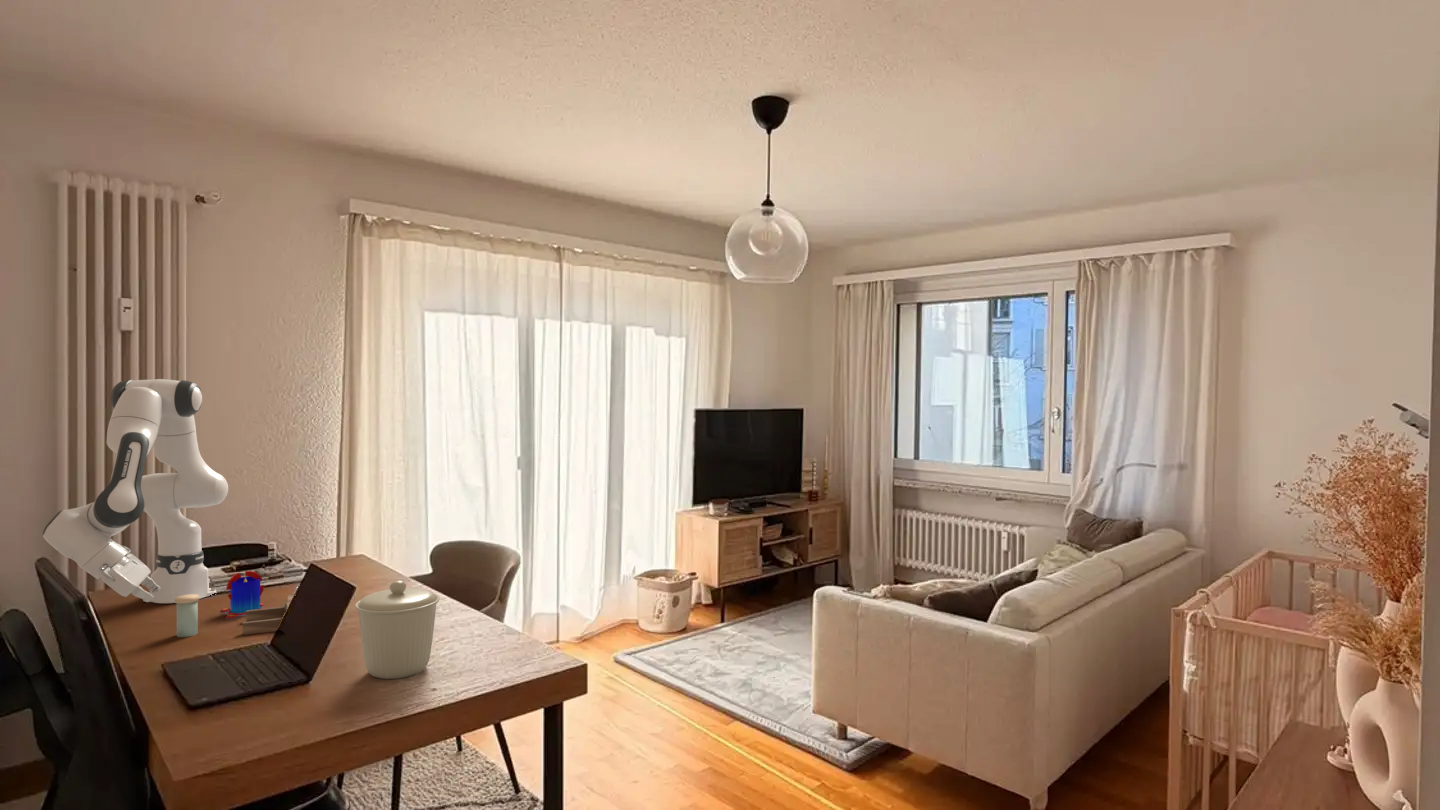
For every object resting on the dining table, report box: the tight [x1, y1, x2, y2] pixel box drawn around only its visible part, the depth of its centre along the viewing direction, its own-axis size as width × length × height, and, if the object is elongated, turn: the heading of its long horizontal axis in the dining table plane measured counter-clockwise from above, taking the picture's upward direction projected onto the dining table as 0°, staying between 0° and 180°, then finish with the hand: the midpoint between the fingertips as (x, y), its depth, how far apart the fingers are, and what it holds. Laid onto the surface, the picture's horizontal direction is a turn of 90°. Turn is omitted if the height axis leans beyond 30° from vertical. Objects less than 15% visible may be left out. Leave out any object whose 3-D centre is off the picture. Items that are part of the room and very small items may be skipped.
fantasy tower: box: [219, 570, 265, 620], centre depth 227 cm, size 12×12×12 cm
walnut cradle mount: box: [242, 593, 294, 636], centre depth 215 cm, size 16×12×6 cm
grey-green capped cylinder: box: [174, 594, 200, 638], centre depth 206 cm, size 5×5×10 cm
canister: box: [354, 580, 440, 680], centre depth 180 cm, size 18×18×21 cm
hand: (154, 595), depth 202 cm, fingers open, 8 cm apart
